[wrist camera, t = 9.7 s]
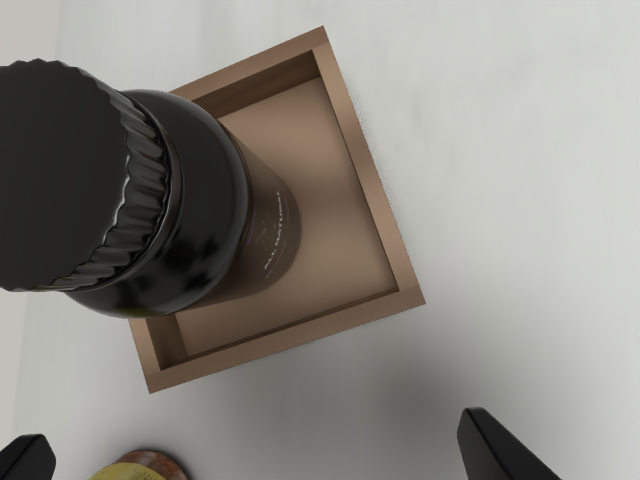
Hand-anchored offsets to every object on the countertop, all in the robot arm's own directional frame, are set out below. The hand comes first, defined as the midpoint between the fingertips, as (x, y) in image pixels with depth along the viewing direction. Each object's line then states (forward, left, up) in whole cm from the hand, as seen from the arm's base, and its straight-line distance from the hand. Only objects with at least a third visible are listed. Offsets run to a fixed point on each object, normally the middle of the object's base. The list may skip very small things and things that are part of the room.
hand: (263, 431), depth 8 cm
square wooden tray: (+7, +1, -13) cm, 15 cm away
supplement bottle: (+7, +2, -10) cm, 13 cm away
